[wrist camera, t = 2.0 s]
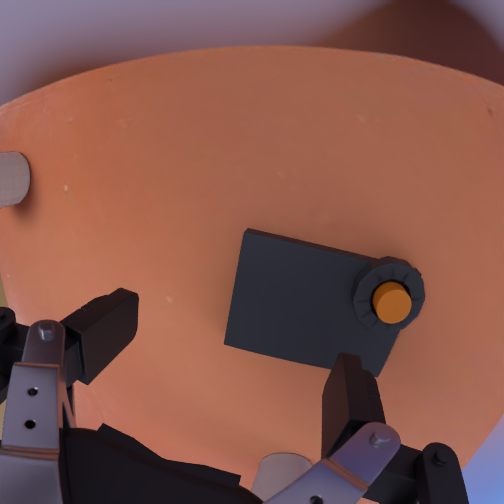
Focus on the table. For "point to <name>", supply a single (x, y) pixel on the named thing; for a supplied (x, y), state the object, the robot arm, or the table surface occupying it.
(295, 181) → the table surface
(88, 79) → the table surface
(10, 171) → the white round cup
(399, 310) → the button
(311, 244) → the dark grey flat slab
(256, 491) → the coffee cup
